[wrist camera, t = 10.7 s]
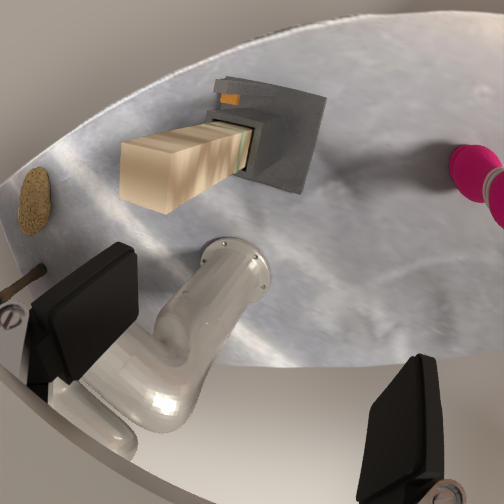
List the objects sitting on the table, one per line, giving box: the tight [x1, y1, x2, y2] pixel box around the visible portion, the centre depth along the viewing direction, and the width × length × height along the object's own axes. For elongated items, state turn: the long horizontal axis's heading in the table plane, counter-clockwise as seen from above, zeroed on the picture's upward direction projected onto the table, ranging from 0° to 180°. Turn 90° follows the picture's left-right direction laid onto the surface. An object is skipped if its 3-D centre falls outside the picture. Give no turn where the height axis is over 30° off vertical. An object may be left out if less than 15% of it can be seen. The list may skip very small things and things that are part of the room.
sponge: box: [18, 167, 51, 236], centre depth 62 cm, size 13×8×20 cm
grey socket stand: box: [205, 76, 327, 195], centre depth 34 cm, size 14×14×18 cm
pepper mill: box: [449, 145, 504, 229], centre depth 26 cm, size 7×7×20 cm
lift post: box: [119, 121, 255, 214], centre depth 27 cm, size 4×4×20 cm
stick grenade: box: [0, 264, 47, 305], centre depth 65 cm, size 8×9×30 cm
